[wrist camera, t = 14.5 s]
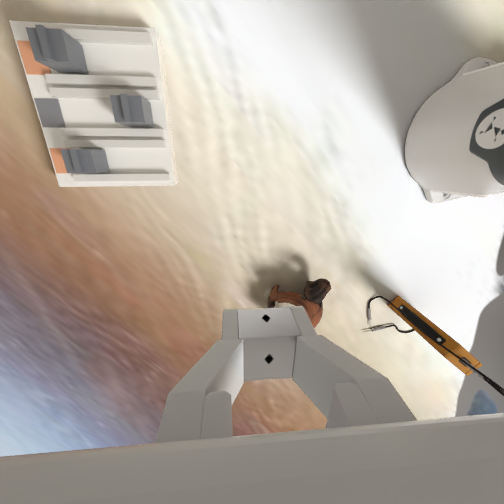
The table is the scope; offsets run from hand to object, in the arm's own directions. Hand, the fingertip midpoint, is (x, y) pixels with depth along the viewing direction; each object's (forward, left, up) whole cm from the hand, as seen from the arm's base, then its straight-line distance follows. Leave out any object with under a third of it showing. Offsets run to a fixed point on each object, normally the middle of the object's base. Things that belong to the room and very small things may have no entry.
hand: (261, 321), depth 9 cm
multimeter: (-30, +25, -28) cm, 48 cm away
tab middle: (+11, -10, -25) cm, 29 cm away
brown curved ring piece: (-11, +17, -28) cm, 34 cm away
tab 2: (+17, -5, -25) cm, 31 cm away
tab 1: (+17, -15, -25) cm, 34 cm away
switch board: (+15, -10, -28) cm, 33 cm away
